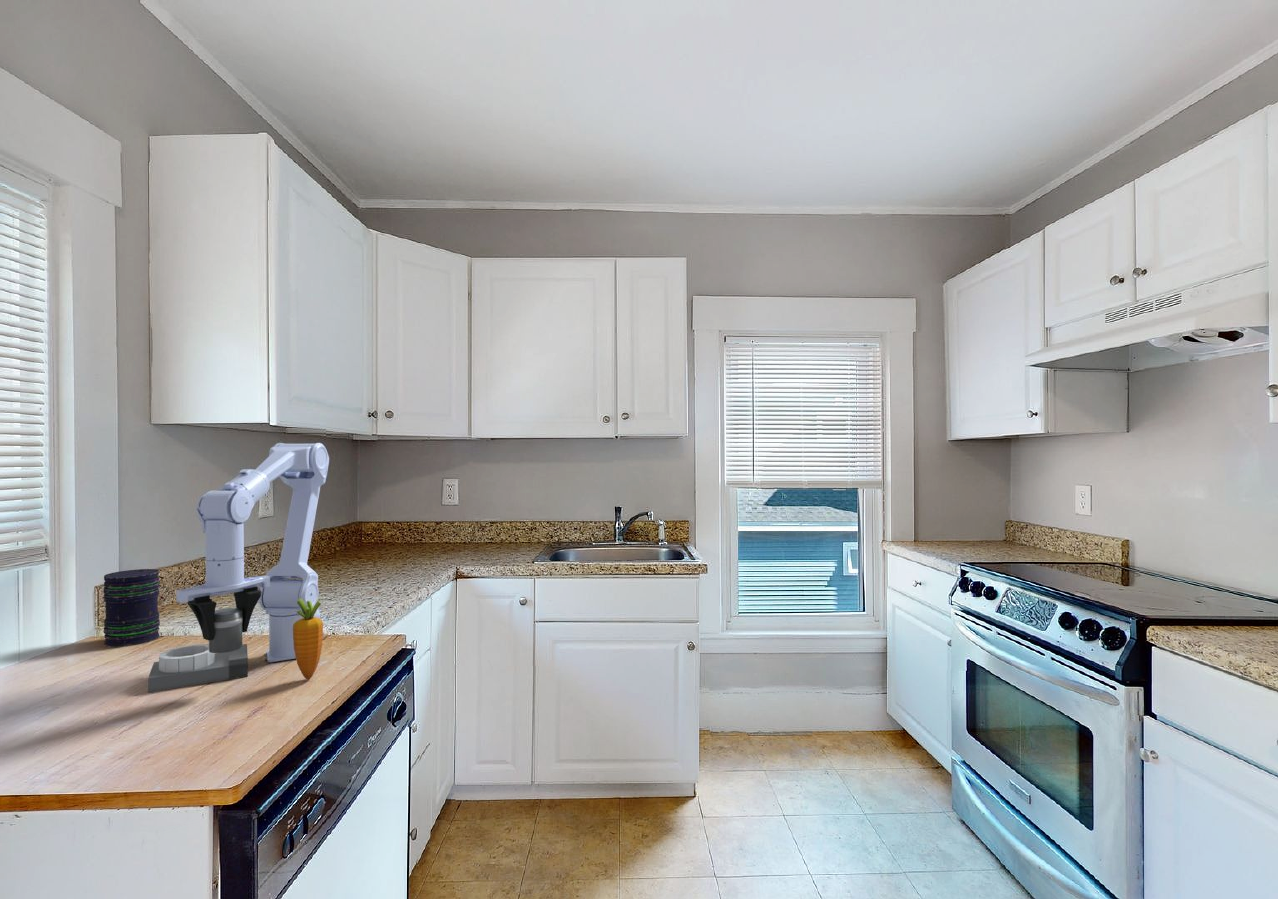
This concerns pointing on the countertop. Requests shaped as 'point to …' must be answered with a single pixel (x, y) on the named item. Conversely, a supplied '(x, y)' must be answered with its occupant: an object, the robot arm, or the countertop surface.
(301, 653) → the carrot
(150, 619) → the storage jar
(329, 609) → the countertop surface
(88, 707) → the countertop surface
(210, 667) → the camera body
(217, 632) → the lens
